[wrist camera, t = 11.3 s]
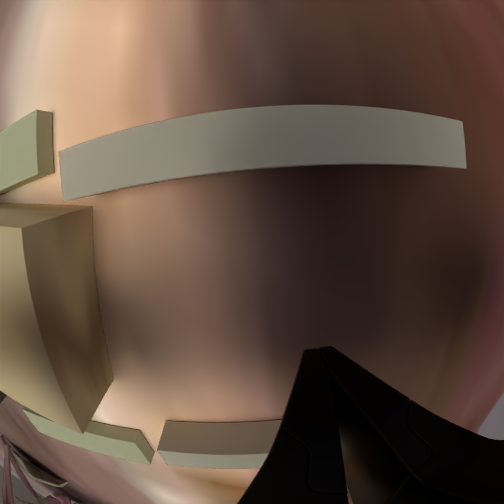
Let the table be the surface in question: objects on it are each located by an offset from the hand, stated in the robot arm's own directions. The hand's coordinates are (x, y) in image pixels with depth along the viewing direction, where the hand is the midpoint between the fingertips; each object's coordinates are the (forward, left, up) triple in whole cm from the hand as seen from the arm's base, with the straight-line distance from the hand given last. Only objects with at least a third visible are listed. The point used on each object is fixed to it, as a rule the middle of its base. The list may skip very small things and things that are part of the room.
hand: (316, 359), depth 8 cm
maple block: (+2, +12, -2) cm, 12 cm away
